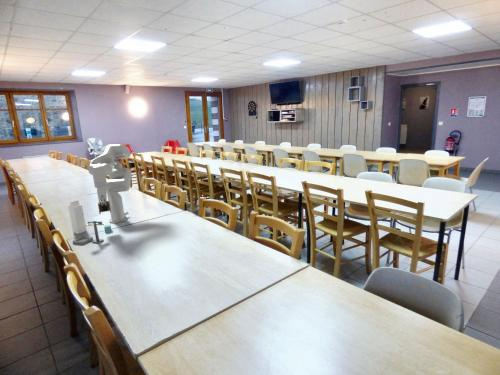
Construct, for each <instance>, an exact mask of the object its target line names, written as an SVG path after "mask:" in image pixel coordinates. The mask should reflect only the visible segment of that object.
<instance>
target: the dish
mask: <svg viewBox="0 0 500 375" xmlns="http://www.w3.org/2000/svg"><path fill="white" fill-rule="evenodd" d="M92 241H94V238H93V237H91V236H82V237H79V238H77V239H75V240H72V244H73V245H80V246H83V245H85V244H89V243H90V242H92Z"/></svg>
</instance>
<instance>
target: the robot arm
mask: <svg viewBox="0 0 500 375" xmlns="http://www.w3.org/2000/svg"><path fill="white" fill-rule="evenodd" d="M131 155H132V154H131V150H130V148H129V147H128V146H126V145H124V144H122V143H117V144H114V143H113V144H107V145H106V146H105V147H104V150H103V152H102V154H101V155H99V156H97V157H95V158H94V159H92V160H91V161H90V163H89V166H88V169H87V170H88V173H89V174H90V175H91V176H92V179H93V184H94V188H96V194H97V199H98V202H101V204H102V211H103V212H102V213H104V212H109V213H110V219H109V223H112V224H116V223H117V224H118V223H122V222H126V221H127V220H128V217H127V215H129V213H130V212H128V211H126V212H125V210H124V209H125V208H124V203H123V197H122V196H121V194H120V193H122V192H128V191H129V190H130V189H131V182H132V171H131V169H130V168H129V167H128V168H127V167H123V164H122V163H121V162H120V161H119V160H122V159H129V158H130V157H131ZM106 175H108V180H107V176H106ZM106 201H109V202H110V208H111V212H110V211H108V209H107V205H106Z"/></svg>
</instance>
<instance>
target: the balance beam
mask: <svg viewBox="0 0 500 375" xmlns="http://www.w3.org/2000/svg"><path fill="white" fill-rule="evenodd" d="M93 224H96V225H97V226H105V224H104V223H103V221H97V220H93V221H87V223H85V224H84V226H86V227H89V226H90V227H92V226H93Z"/></svg>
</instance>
